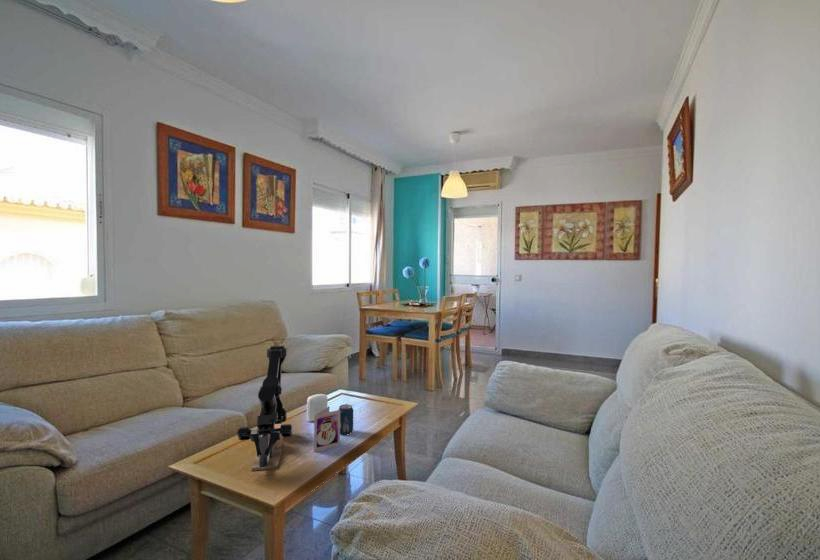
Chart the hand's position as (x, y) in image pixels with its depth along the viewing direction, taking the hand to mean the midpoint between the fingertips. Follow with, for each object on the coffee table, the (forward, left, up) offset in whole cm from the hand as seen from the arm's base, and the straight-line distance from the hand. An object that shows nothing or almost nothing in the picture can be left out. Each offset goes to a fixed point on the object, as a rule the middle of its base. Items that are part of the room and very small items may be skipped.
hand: (262, 456), depth 134 cm
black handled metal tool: (-8, +1, -5) cm, 10 cm away
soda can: (-26, +35, -7) cm, 45 cm away
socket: (-21, +3, -6) cm, 22 cm away
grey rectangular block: (-14, +2, -6) cm, 16 cm away
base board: (-14, +2, -7) cm, 16 cm away
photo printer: (-46, +25, -7) cm, 53 cm away
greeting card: (-16, +24, -7) cm, 30 cm away
